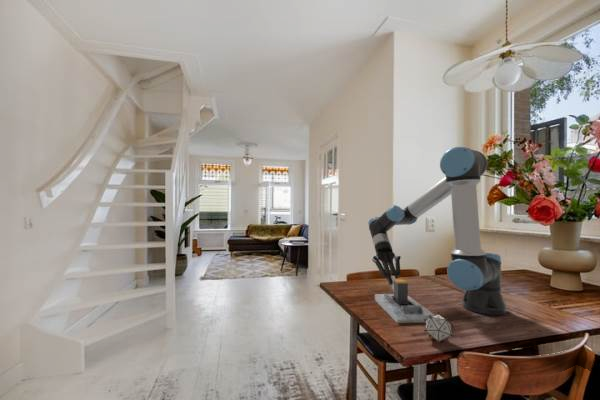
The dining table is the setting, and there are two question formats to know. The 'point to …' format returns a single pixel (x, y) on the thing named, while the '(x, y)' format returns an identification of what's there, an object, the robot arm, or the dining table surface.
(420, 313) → the fader console
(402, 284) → the fader knob
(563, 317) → the dining table surface
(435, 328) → the game die
